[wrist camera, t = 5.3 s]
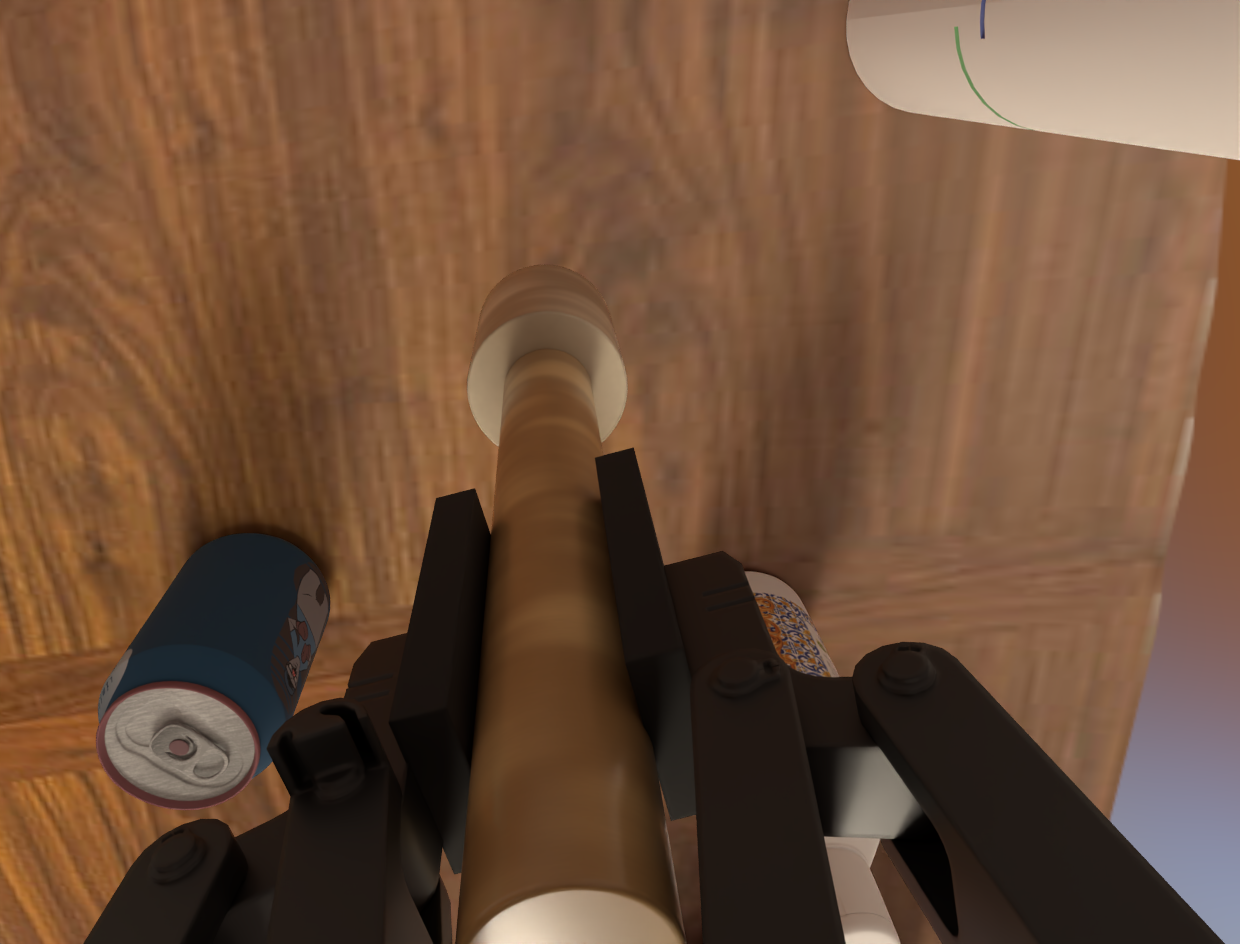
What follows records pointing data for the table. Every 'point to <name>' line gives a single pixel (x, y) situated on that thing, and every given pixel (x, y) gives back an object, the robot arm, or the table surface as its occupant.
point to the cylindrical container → (1061, 66)
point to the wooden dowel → (556, 647)
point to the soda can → (213, 673)
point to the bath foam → (848, 857)
